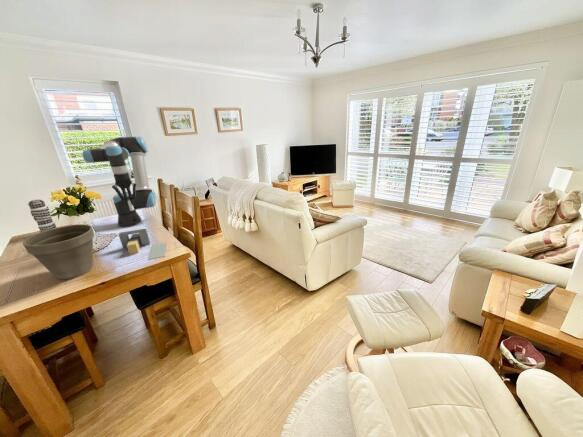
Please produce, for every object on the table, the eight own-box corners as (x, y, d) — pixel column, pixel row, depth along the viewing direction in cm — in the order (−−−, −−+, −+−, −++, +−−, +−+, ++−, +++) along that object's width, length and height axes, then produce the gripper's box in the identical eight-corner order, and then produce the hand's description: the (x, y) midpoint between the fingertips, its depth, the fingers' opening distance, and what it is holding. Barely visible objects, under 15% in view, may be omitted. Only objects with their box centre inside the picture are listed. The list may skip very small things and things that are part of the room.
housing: (124, 247, 146) (119, 232, 142) (150, 242, 151) (146, 228, 147) (123, 249, 143) (118, 234, 140) (149, 244, 148) (145, 230, 144)
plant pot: (104, 253, 140) (91, 219, 131) (106, 272, 122) (91, 234, 113) (46, 269, 125) (27, 232, 117) (39, 293, 107) (16, 252, 99)
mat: (152, 245, 147) (152, 245, 147) (167, 242, 150) (166, 242, 150) (148, 259, 132) (148, 259, 131) (164, 256, 134) (164, 256, 134)
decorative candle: (61, 233, 169) (46, 199, 159) (44, 238, 161) (27, 203, 152) (57, 230, 173) (42, 197, 164) (40, 235, 166) (23, 201, 156)
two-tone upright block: (134, 242, 151) (132, 234, 149) (143, 241, 153) (140, 233, 150) (129, 254, 137) (126, 245, 135) (138, 253, 139) (135, 244, 137)
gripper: (105, 175, 136) (118, 213, 145) (132, 173, 140) (142, 210, 149) (109, 172, 142) (121, 209, 151) (134, 170, 146) (144, 206, 156)
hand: (132, 209), depth 150 cm, fingers closed
